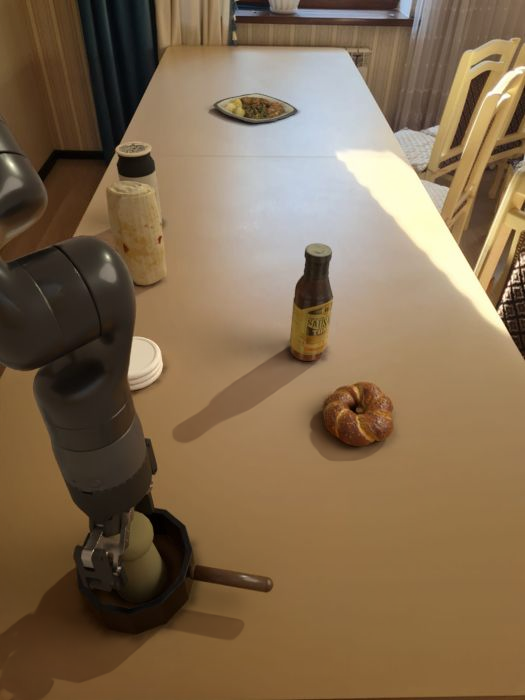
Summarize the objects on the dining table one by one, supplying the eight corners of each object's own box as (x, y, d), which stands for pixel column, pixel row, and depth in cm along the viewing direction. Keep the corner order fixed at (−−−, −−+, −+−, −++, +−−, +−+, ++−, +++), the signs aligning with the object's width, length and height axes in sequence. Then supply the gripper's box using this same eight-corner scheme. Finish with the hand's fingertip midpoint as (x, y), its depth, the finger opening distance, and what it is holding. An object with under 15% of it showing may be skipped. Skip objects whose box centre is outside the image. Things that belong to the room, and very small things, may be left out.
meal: (252, 130, 172) (252, 122, 170) (204, 108, 186) (203, 101, 184) (307, 112, 185) (308, 104, 183) (258, 93, 198) (258, 86, 196)
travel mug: (160, 233, 122) (149, 155, 110) (124, 233, 122) (110, 155, 110) (164, 216, 128) (154, 140, 116) (131, 216, 128) (117, 140, 116)
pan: (68, 621, 59) (56, 601, 56) (110, 521, 68) (103, 499, 65) (263, 658, 57) (263, 640, 53) (280, 549, 66) (281, 527, 62)
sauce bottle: (306, 368, 90) (315, 267, 76) (281, 349, 93) (285, 249, 80) (334, 352, 93) (347, 251, 80) (309, 333, 96) (317, 235, 83)
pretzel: (333, 382, 87) (335, 366, 85) (400, 401, 84) (405, 384, 82) (311, 437, 79) (312, 420, 76) (385, 459, 76) (389, 442, 73)
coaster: (175, 365, 90) (173, 349, 88) (133, 401, 84) (129, 385, 82) (132, 342, 94) (128, 327, 92) (88, 375, 88) (83, 360, 86)
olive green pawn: (177, 568, 64) (167, 518, 57) (144, 613, 60) (128, 565, 53) (137, 543, 66) (123, 492, 59) (103, 585, 62) (83, 536, 55)
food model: (171, 270, 111) (159, 177, 98) (164, 289, 106) (150, 193, 93) (125, 268, 112) (107, 175, 99) (115, 286, 107) (95, 191, 94)
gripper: (94, 389, 53) (122, 485, 64) (23, 516, 43) (70, 605, 54) (167, 399, 52) (183, 494, 63) (113, 531, 42) (143, 618, 53)
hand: (131, 545), depth 58 cm, fingers open, 8 cm apart
